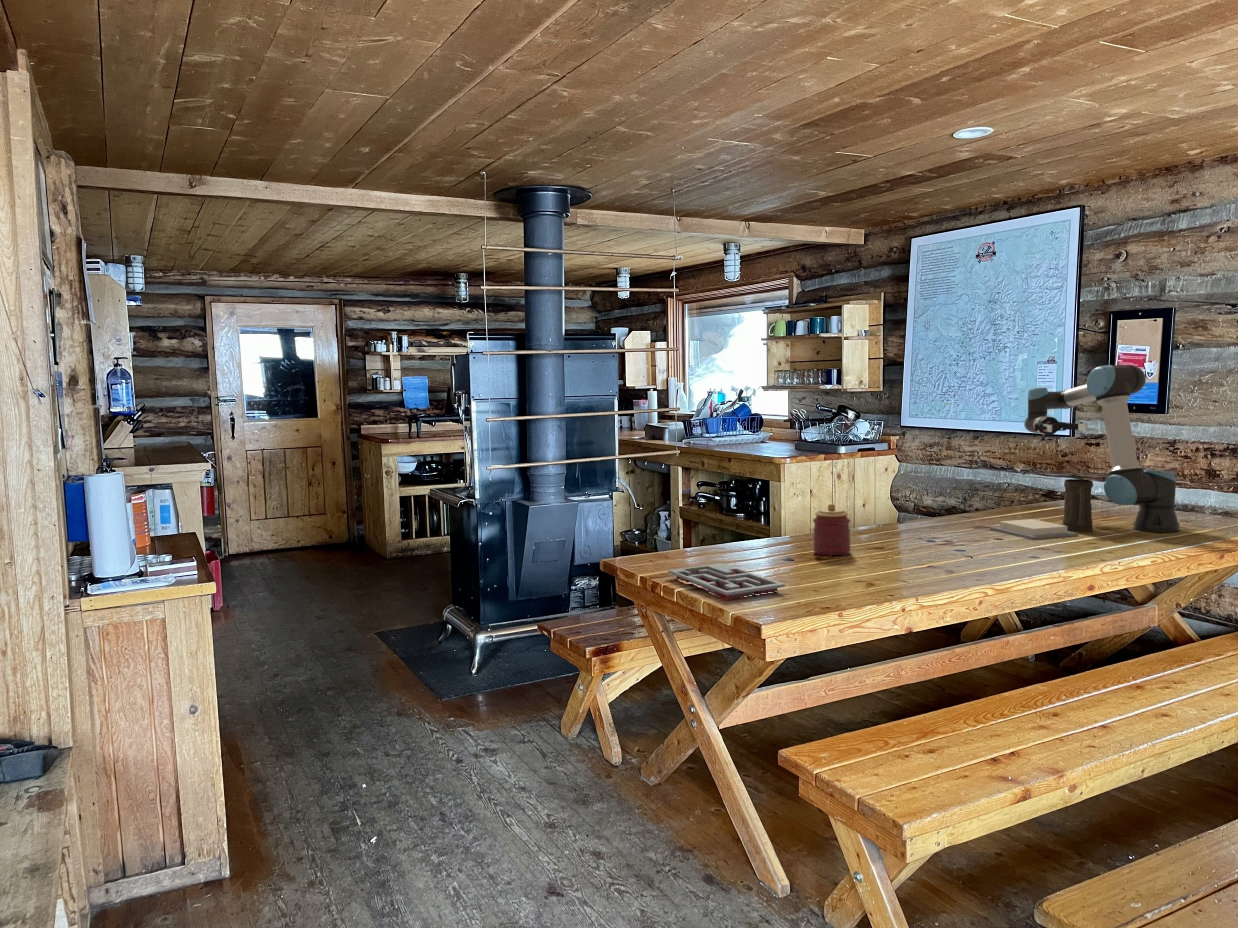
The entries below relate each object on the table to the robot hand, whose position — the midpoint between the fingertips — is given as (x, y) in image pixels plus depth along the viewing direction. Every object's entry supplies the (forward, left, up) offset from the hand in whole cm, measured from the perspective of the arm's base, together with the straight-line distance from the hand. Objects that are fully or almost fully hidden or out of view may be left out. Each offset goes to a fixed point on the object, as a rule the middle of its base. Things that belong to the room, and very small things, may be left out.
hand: (1068, 428), depth 349 cm
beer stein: (+3, +10, -39) cm, 41 cm away
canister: (+110, +13, -39) cm, 118 cm away
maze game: (+164, +47, -40) cm, 175 cm away
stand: (+21, +6, -39) cm, 45 cm away
